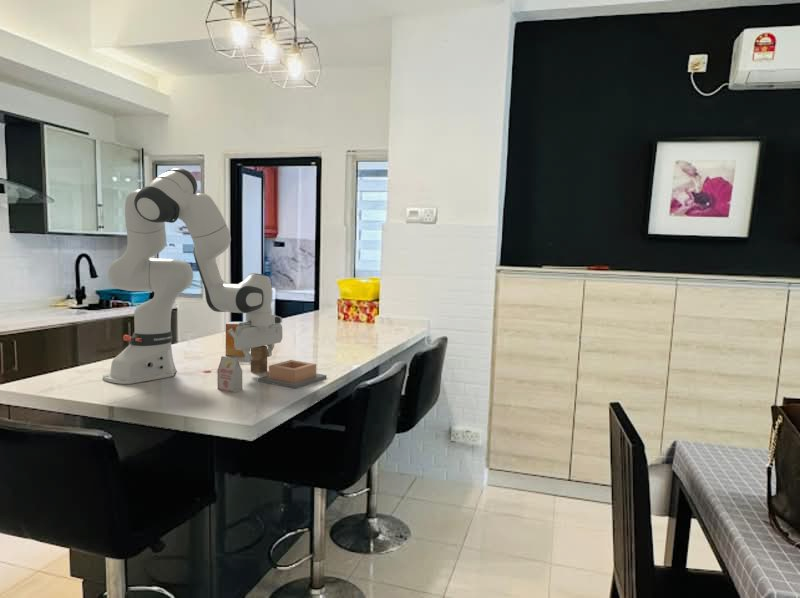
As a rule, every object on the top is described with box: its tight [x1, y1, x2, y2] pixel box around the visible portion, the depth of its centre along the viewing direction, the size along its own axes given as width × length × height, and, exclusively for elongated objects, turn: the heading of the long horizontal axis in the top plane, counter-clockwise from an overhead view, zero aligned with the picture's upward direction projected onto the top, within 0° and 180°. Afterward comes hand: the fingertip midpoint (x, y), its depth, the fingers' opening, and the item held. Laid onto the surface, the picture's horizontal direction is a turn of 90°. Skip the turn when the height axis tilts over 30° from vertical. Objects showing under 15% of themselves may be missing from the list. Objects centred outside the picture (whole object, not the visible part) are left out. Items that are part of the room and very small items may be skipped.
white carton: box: [216, 355, 243, 394], centre depth 160 cm, size 4×7×10 cm, turn 60°
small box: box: [225, 321, 246, 357], centre depth 211 cm, size 8×6×13 cm
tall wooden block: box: [250, 345, 268, 374], centre depth 184 cm, size 4×4×9 cm
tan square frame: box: [257, 359, 327, 389], centre depth 174 cm, size 16×16×5 cm
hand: (259, 358), depth 183 cm, fingers open, 8 cm apart
